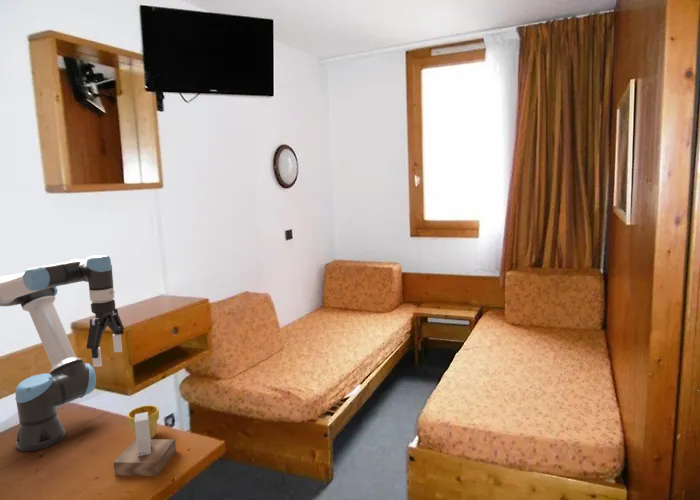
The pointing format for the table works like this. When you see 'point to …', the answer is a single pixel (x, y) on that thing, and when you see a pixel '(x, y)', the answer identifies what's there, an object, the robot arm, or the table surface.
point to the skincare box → (142, 434)
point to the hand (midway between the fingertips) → (108, 358)
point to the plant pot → (152, 414)
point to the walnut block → (145, 459)
